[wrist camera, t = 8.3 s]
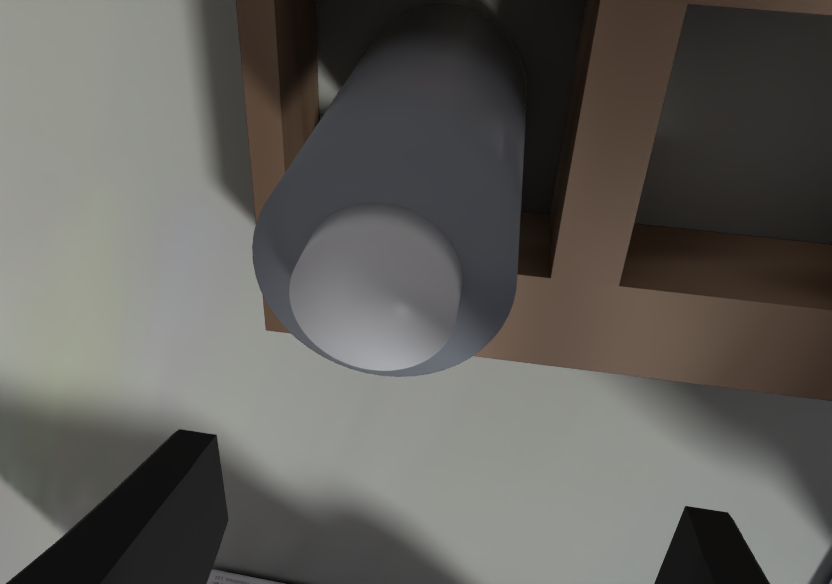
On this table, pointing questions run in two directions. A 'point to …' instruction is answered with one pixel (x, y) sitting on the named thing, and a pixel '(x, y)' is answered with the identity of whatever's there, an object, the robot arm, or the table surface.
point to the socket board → (598, 218)
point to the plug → (405, 202)
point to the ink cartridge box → (235, 578)
